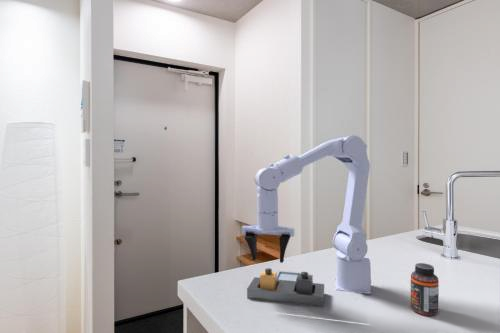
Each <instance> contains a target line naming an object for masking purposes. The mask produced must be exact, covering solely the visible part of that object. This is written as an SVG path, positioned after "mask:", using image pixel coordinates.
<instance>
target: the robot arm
mask: <svg viewBox="0 0 500 333" xmlns="http://www.w3.org/2000/svg"><path fill="white" fill-rule="evenodd" d="M367 149H368V144H366V142H365V141H364V140H363V139H362V137H360V136H358V135H354V134H353V135H349V136H344V137H336V138H333V139H331V140H327V141H325V142H323V143H321V144H318V145H317V146H316V147H313V148H312V149H310V150H308V151H306V152H305V153H302V154H301V155H299V156H296V155H293V154H290V155H289V154H286V155H284V156H283V159H281V160H279V161H276V162H274V163H272V162H271V163H269V164H268V167H263V168H260V169H259V170H258V171H257V173H256V174H255V177H254V179H253V180H254V184H255V185H257V186H256V188H257V190H256V192H257V195H256V206H257V208H256V209H257V210H256V216H257V220H256V221H257V222H256V223H257V225H242V226H241V234H243V235H244V240H245V241H246V243H247V245H248V248H249V251H250V254H251V257H252V258H251V259H252V261H257V259H258V250H257V249H258V248H257V245H258V244H257V242H258V235H266V236H267V235H270V236H272V235H273V236H279V239H278V240H279V249H280V250H279V252H280V253H279V263H281V264H282V263H284V260H285V254H286V250H287V247H288V244H289V241H290V239H291V237H292V238H293V237H295V233H296V232H295V230H296V229H295V227H287V226H279V198H278V188H279V187H280V185H281V183H285V182H286V181H288V180H291V179H293V178H294V177H296V176H299V175H300V174H302V172H303V169H304V167H306V166H309V165H311V164H313V163H315V162H317V161H319V160H321V159H325V158H326V157H333V158H335V159H337V160H338V161H340V162H341V163H343V164H344V166H346V168H347V169H348V172H349V173H348V178H347V185H346V190H345V191H346V192H345V198H344V199H345V201H344V207H343V208H344V209H343V212H342V214H343V216H342V221H341V222H340V224H338V225H337V228H336V232H335V234H334V235H333V238H332V246H333V248H334V249H335V250H336V278H335V280H334V281H335V282H334V283H335V285H334V286H335V287H334V288H335V290H336V291H341V292H351V293H361V294H365V295H371V294H372V291H371V290H372V286H371V285H372V278H371V277H372V276H371V274H372V272H371V271H372V269H371V260H370V258H369V257H366V255H367V253H368V244H367V233H366V232H365V229H364V227H363V220H364V219H363V217H364V211H365V204H366V197H367V196H366V195H367V189H368V182H369V176H370V174H369V173H370V168H371V167H370V166H371V165H370V161H369V158H368V157H369V156H368V154H367Z"/></svg>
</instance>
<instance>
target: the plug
mask: <svg viewBox="0 0 500 333" xmlns="http://www.w3.org/2000/svg"><path fill="white" fill-rule="evenodd" d="M259 278H260V288H266V289H275V290H276V289H277V271H273V269H272V268H270V267H268V268H265V269H264V270H262V272H261V274H260V275H259Z"/></svg>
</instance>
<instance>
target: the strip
mask: <svg viewBox="0 0 500 333" xmlns="http://www.w3.org/2000/svg"><path fill="white" fill-rule="evenodd" d="M246 297H247V298H246V299H249V300H259V301H266V302H267V301H268V302H275V303H284V304H291V305H298V306H299V305H301V306H310V307H318V308H324V305H325V283H319V282H318V283H317V282H313V294H312V293H303V292H296V281H288V280H277V289H276V290H275V289H266V288H260V277H257V276H254V277H253V279H252V281H251V282H250V283H249V285H248V287H246Z"/></svg>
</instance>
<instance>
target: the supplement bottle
mask: <svg viewBox="0 0 500 333" xmlns="http://www.w3.org/2000/svg"><path fill="white" fill-rule="evenodd" d="M439 286H440V285H439V277H438V276H437V275H436V274H435V267H434V265H432V264H428V263H425V262H423V263H422V262H418V263H416V264H415V266H414V271H412V272H411V274H410V308H411V310H412V311H414V312H415V313H417V314H418V315H422V316H426V317H433V316H437V315H438V314H439V293H440V292H439V290H440V289H439Z"/></svg>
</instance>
